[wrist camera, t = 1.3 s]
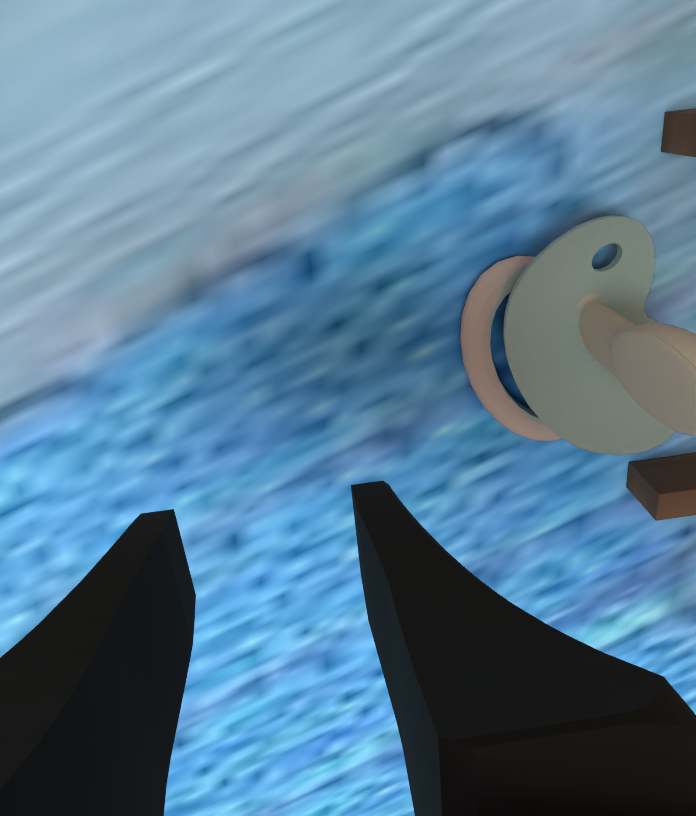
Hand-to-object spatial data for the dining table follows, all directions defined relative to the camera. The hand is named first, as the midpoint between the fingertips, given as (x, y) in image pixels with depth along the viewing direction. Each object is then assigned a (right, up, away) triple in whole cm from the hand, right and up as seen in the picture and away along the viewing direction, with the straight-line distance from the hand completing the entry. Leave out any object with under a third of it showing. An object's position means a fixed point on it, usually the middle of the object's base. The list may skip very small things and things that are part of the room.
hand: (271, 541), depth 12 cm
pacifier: (+8, +5, +8) cm, 12 cm away
